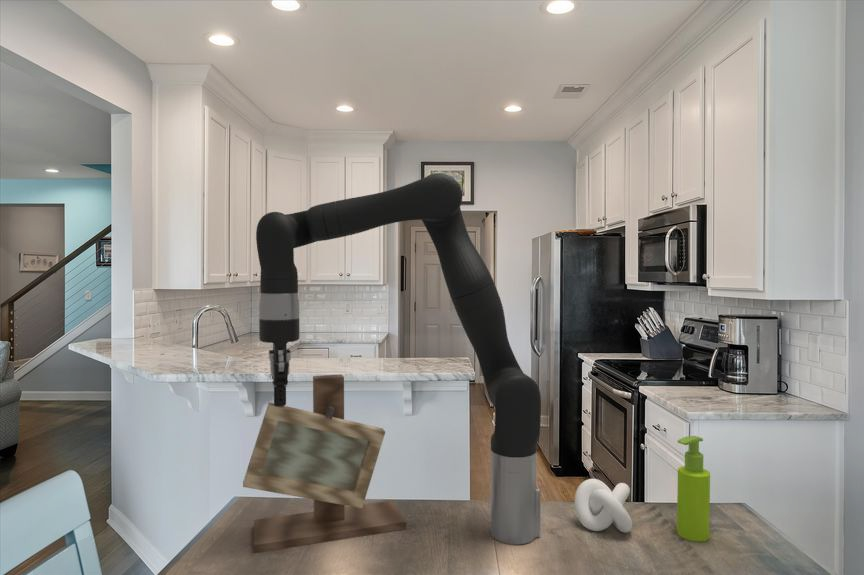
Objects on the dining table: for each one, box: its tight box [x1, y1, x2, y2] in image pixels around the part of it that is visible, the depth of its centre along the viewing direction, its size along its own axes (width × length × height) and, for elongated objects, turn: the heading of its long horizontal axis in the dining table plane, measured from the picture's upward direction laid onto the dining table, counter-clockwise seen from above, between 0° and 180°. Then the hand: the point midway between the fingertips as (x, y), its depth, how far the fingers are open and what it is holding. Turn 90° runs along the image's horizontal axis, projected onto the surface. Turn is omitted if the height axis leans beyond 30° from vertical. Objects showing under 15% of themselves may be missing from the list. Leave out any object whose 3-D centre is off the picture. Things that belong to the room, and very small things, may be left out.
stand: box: [253, 373, 407, 554], centre depth 111 cm, size 30×11×32 cm, turn 109°
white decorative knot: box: [573, 478, 633, 534], centre depth 112 cm, size 11×12×9 cm
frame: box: [242, 401, 386, 508], centre depth 107 cm, size 24×2×18 cm, turn 109°
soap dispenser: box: [676, 435, 711, 543], centre depth 109 cm, size 6×7×20 cm
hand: (280, 405), depth 105 cm, fingers closed
